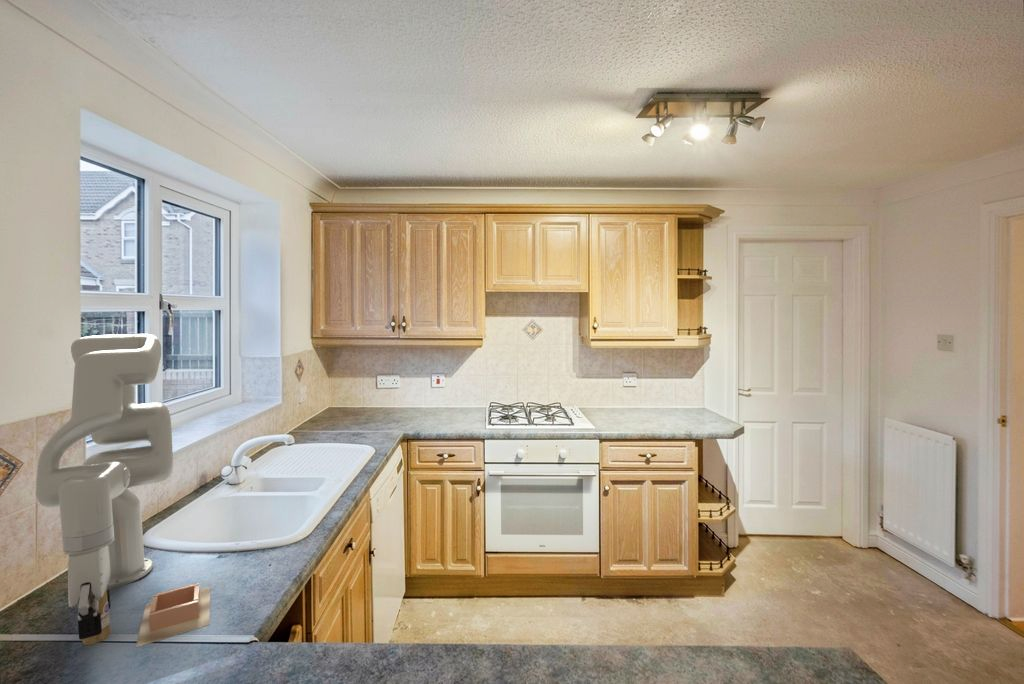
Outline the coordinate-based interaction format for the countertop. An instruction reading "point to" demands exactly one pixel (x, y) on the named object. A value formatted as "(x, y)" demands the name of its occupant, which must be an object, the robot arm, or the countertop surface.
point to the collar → (174, 607)
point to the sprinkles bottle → (105, 620)
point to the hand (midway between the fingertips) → (95, 622)
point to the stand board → (180, 628)
